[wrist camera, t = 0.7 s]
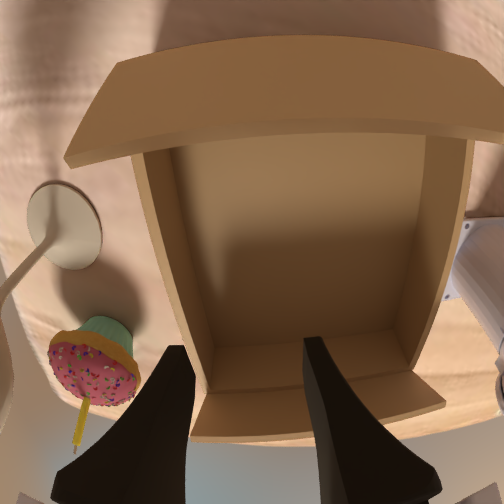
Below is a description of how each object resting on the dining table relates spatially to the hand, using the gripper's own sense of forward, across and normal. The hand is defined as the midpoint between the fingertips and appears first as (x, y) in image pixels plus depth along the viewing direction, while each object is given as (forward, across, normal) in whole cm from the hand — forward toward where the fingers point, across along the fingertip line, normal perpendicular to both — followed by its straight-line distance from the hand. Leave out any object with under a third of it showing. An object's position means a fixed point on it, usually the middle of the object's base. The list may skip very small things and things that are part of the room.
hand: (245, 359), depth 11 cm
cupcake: (+11, +14, +9) cm, 20 cm away
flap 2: (+3, -4, +10) cm, 11 cm away
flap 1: (+3, -4, -9) cm, 11 cm away
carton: (+10, -4, 0) cm, 11 cm away
